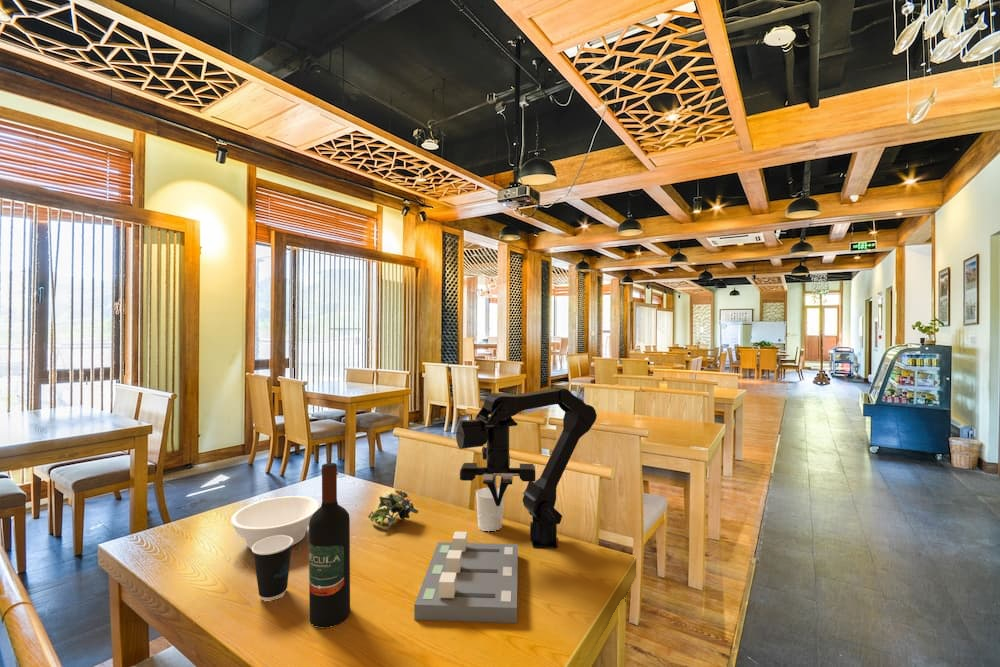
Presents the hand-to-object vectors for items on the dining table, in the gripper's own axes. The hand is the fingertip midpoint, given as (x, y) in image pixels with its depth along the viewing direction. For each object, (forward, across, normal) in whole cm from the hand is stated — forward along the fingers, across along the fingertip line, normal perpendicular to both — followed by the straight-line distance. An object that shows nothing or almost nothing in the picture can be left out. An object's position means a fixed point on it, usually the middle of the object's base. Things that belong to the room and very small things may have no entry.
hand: (498, 505), depth 113 cm
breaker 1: (+9, +9, +23) cm, 26 cm away
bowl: (+12, +59, -3) cm, 60 cm away
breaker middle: (+9, +9, +14) cm, 19 cm away
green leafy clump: (+12, +31, -14) cm, 36 cm away
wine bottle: (+12, +32, +26) cm, 43 cm away
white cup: (+12, +3, -14) cm, 19 cm away
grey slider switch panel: (+12, +5, +14) cm, 19 cm away
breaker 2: (+9, +9, +5) cm, 13 cm away
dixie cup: (+12, +47, +20) cm, 53 cm away
